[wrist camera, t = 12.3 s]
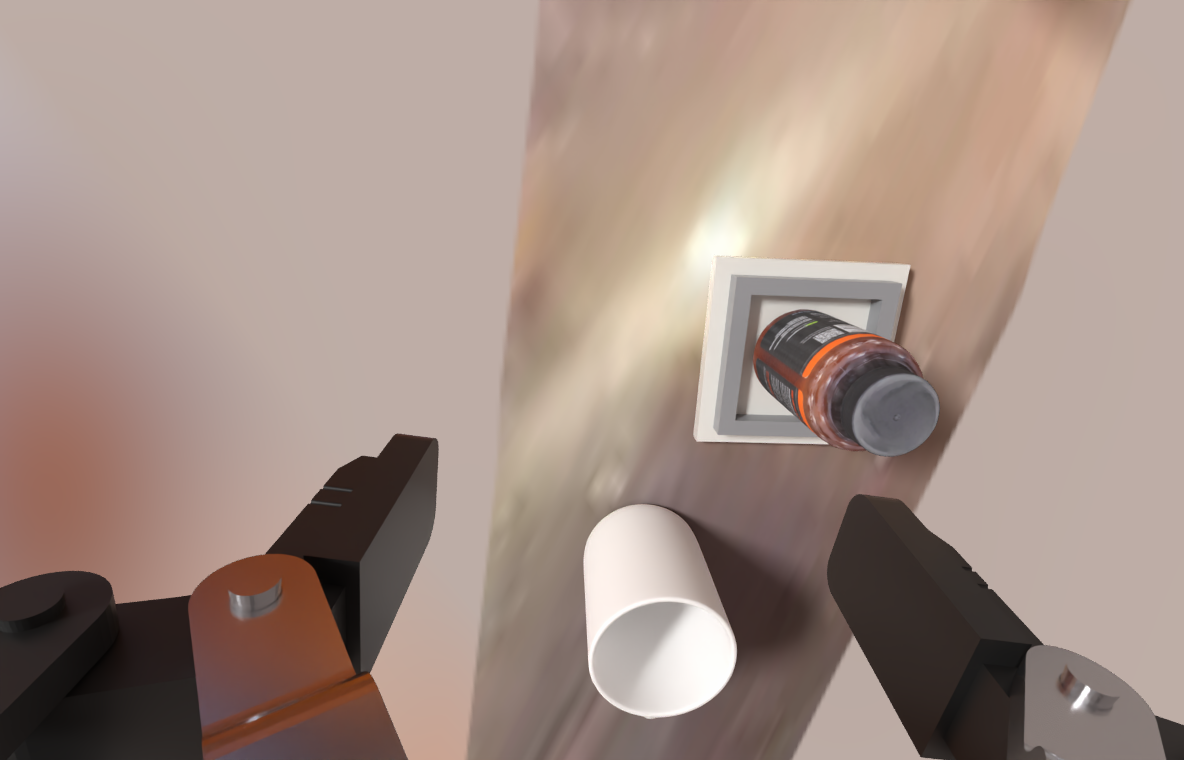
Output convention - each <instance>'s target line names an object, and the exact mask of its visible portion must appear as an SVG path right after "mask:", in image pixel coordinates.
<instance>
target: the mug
mask: <svg viewBox="0 0 1184 760" xmlns="http://www.w3.org/2000/svg"><path fill="white" fill-rule="evenodd" d="M584 582H585V602H586V622H587V641H588V661H589V671H590V675H591V678H592V680H593V683H594V684H595V686H596V688H597V690H598V691H599V692H600V693H601V695H602V696H603V697H604V698H605V699H606V700H607V701H609V702H610V703H611V704H613V705H614V706H616V707H618V708H619V709H621V710H623V711H626V712H628V713H631V714H635V715H639V716H644V717H645V718H648V719H654V718H656V717H669V716H675V715H679V714H683V713H687V712H689V711H692V710H694V709H696V708H698V707H700V706H702V705H704V704H705V703H707V702H708V701H710V700H711V699H712V698H714V697H715V696H716V695H717V694H718V693H719V692H720V691H721V690H722V689H723V688H724V686H725V685H726V684H727V682H728V681H729V679H730V677H731V675H732V673H733V670H734V668H735V664H736V658H737V646H736V640H735V637H734V634H733V631H732V629H731V626H730V623H729V621H728V618H727V616H726V613H725V611H724V608H723V605H722V603H721V600H720V598H719V595H718V592H717V590H716V587H715V585H714V582H713V580H712V577H711V574H710V572H709V569H708V567H707V564H706V562H705V559H704V556H703V554H702V551H701V549H700V546H699V544H698V541H697V539H696V537H695V535H694V533H693V531H692V530H691V528H690V527H689V526H688V524H687V523H686V522H685V521H684V520H683V519H682V518H681V517H680V516H679V515H677V514H675V513H674V512H672V511H670V510H668V509H666V508H663V507H660V506H656V505H649V504H637V505H631V506H627V507H623V508H620V509H618V510H616V511H614V512H612V513H610V514H609V515H607V516H606V517H605V518H603V519H602V520H601V521H600V522H599V523H598V524H597V525H596V527H595V528H594V529H593V531H592V532H591V534H590V536H589V538H588V540H587V543H586V547H585V552H584Z"/></svg>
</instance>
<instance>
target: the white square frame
mask: <svg viewBox="0 0 1184 760" xmlns="http://www.w3.org/2000/svg"><path fill="white" fill-rule="evenodd" d="M909 270H910V265H908V264H903V263H884V262H860V261H836V260H812V259H788V258H763V257H739V256H715V255H713V256H712V266H711V275H710V284H709V294H708V303H707V312H706V322H705V331H704V340H703V350H702V359H701V368H700V378H699V387H698V397H697V406H696V415H695V425H694V434H693V436H694V437H695V439H696V441H706V442H750V443H794V444H828V443H827V442H825V441H823V440H822V439H820V438H819V437H818V436H817V435H816V434H815V433H814V432H812V431H811V430H810V429H809V428H808V427H807V426H805V425H804V424H803V423H802V422H801V421H800V420H799V419H798V418H797V417H795V416H794V415H793V414H792V413H791V412H790V411H788V410H787V409H786V408H785V407H784V406H783V405H782V404H781V403H780V402H779V401H777V400H776V399H775V398H774V397H773V396H772V395H771V394H770V393H768V391H767V390H766V389H765V388H764V387H763V386H762V385H761V383H760V382H759V380H758V378H757V376H756V373H755V370H754V365H753V355H754V349H755V346H756V343H757V340H758V338H759V336H760V334H761V333H762V331H763V330H764V329H765V328H766V327H767V325H769V324H770V323H771V322H772V321H773V320H774V319H776V318H777V317H779V316H781V315H783V314H785V313H788V312H791V311H795V310H799V309H808V310H815V311H819V312H822V313H825V314H828V315H830V316H833V317H835V318H837V319H840V320H842V321H844V322H847V323H849V324H852V325H854V326H856V327H859V328H861V329H864V330H866V331H869V332H871V333H874V334H876V335H879V336H881V337H883V338H885V339H888V340H890V341H892V342H894V340H895V336H896V331H897V326H898V321H899V317H900V312H901V307H902V303H903V298H904V293H905V288H906V284H907V279H908V274H909Z"/></svg>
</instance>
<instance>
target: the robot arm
mask: <svg viewBox="0 0 1184 760" xmlns="http://www.w3.org/2000/svg"><path fill="white" fill-rule="evenodd" d="M437 470H438V441H437V439H436V438H428V437H420V436H413V435H405V434H395V435H394V436H393V437H392V439H391V440H390V442H389V443H388V444H387V445H386V447H385V448H384V449H383V451H382V452H381V453H380V455H379V456H378V457H377V458H375V457H368V456H361V457H359V458H357V459H355V460H353V461H351V462H350V463H348V464H346V465H344V466H342V467H340V468H339V469H338V470H337V471H336V472H335V473H334V474H333V475H332V476H331V478H330V479H329V480H328V481H327V482H326V484H325V485H324V488H323V489H320V491H319V492H318V493H317V494H316V495H315V496H314V498H313V499H312V500H311V504H308V505H307V506H306V507H305V508H304V509H303V510H302V512H301V513H300V514H299V515H298V516H297V517H296V519H295V520H294V521H293V522H292V523H291V525H290V526H289V527H288V528H287V529H286V530H285V531H284V533H283V534H282V535H281V536H280V537H279V539H278V540H277V541H276V542H275V543H274V544H273V545H272V547H271V548H270V549H269V550H268V551H267V552H266V554H265V555H257V556H252V557H247V558H244V559H241V560H237V561H235V562H232V563H230V564H228V565H225V566H224V567H222V568H220V569H218V570H216V571H215V572H213V573H212V574H210V575H209V576H208V577H206V578H205V579H204V580H203V581H202V582H201V583H200V584H199V585H198V586H197V587H196V588H195V590H194V591H193V593H192V595H189V596H182V597H175V598H166V599H158V600H148V601H139V602H130V603H122V604H115V600H114V595H113V590H112V587H111V585H110V583H109V582H108V581H107V580H106V579H105V578H104V577H102V576H100V575H97V574H94V573H90V572H84V571H64V572H55V573H48V574H43V575H38V576H34V577H30V578H27V579H24V580H20V581H17V582H14V583H12V584H9V585H7V586H4V587H1V588H0V760H408V758H407V756H406V754H405V751H404V749H403V746H402V744H401V742H400V739H399V737H398V734H397V732H396V730H395V727H394V725H393V723H392V720H391V718H390V715H389V713H388V711H387V708H386V706H385V704H384V701H383V699H382V696H381V694H380V692H379V689H378V687H377V685H376V683H375V681H374V679H373V677H372V676H371V675H370V672H371V670H372V667H373V665H374V663H375V660H376V658H377V656H378V654H379V652H380V649H381V647H382V645H383V643H384V640H385V638H386V636H387V634H388V631H389V629H390V627H391V625H392V623H393V620H394V618H395V616H396V614H397V611H398V609H399V607H400V605H401V603H402V600H403V598H404V596H405V594H406V592H407V589H408V587H409V585H410V582H411V580H412V578H413V576H414V574H415V571H416V569H417V567H418V564H419V563H420V560H421V558H422V556H423V554H424V551H425V549H426V547H427V545H428V542H429V540H430V536H431V533H432V529H433V524H434V519H435V511H436V491H437ZM827 579H828V585H829V589H830V592H831V594H832V596H833V598H834V599H835V601H836V603H837V605H838V607H839V609H840V610H841V612H842V614H843V616H844V618H845V619H846V621H847V623H848V625H849V627H850V629H851V630H852V632H853V634H854V636H855V638H856V640H857V641H858V643H859V645H860V647H861V649H862V650H863V652H864V654H865V656H866V658H867V660H868V662H869V663H870V665H871V667H872V669H873V671H874V673H875V674H876V676H877V678H878V679H879V682H880V683H881V685H882V687H883V689H884V691H885V693H886V694H887V696H888V698H889V700H890V702H891V703H892V705H893V707H894V709H895V711H896V713H897V714H898V716H899V718H900V720H901V722H902V724H903V726H904V727H905V729H906V731H907V733H908V735H909V736H910V738H911V740H912V742H913V744H914V745H915V747H916V749H917V751H918V753H919V755H920V757H924V758H933V759H943V760H1184V725H1181V724H1178V723H1176V722H1173V721H1170V720H1167V719H1164V718H1160V717H1158V716H1155V715H1154V713H1153V712H1152V710H1151V708H1150V707H1149V705H1148V704H1147V703H1146V702H1145V701H1144V699H1143V698H1141V696H1140V695H1139V694H1138V693H1137V692H1136V691H1135V690H1134V689H1132V688H1131V687H1130V686H1129V685H1128V684H1127V683H1126V682H1124V681H1123V680H1122V679H1120V678H1119V677H1117V676H1116V675H1115V674H1113V673H1112V672H1110V671H1109V670H1107V669H1106V668H1104V667H1102V666H1101V665H1099V664H1097V663H1096V662H1094V661H1092V660H1090V659H1087V658H1086V657H1083V656H1081V655H1079V654H1077V653H1074V652H1071V651H1069V650H1066V649H1062V648H1058V647H1054V646H1047V645H1043V643H1042V642H1041V641H1040V640H1039V639H1038V638H1037V637H1036V636H1035V635H1034V634H1033V633H1032V632H1031V631H1030V630H1029V628H1028V627H1027V626H1026V625H1025V624H1024V623H1023V622H1022V621H1021V620H1020V619H1019V618H1018V617H1017V616H1016V615H1015V613H1014V612H1013V611H1012V610H1011V609H1010V608H1009V607H1008V606H1007V605H1006V604H1005V603H1004V602H1003V601H1002V599H1001V598H1000V597H999V596H998V595H997V594H996V593H995V592H994V591H993V590H992V589H988V584H986V582H984V580H983V579H982V578H981V577H980V576H979V575H978V574H977V573H976V572H972V568H971V566H970V565H969V564H968V563H967V562H966V561H965V560H964V559H963V558H962V557H961V555H960V554H959V553H958V552H957V551H956V550H955V549H954V548H953V547H952V546H950V545H949V544H947V543H946V542H945V541H943V540H942V539H940V538H939V537H937V536H936V535H935V534H933V533H932V532H930V531H929V530H928V529H927V528H926V527H925V526H924V525H923V524H922V523H921V522H920V520H919V519H918V518H917V517H916V516H915V515H914V514H913V513H912V512H911V510H910V509H909V508H908V507H907V506H906V505H905V504H904V503H903V502H902V501H900V500H898V499H893V498H885V497H877V496H870V495H862V494H858V495H856V496H854V497H853V498H852V499H851V501H850V502H849V505H848V507H847V510H846V513H845V516H844V518H843V521H842V524H841V527H840V530H839V532H838V535H837V538H836V541H835V544H834V546H833V549H832V552H831V555H830V558H829V561H828V568H827Z"/></svg>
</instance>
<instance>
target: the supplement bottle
mask: <svg viewBox="0 0 1184 760" xmlns="http://www.w3.org/2000/svg"><path fill="white" fill-rule="evenodd" d="M753 365H754V370H755V373H756V376H757V378H758V380H759V382H760V383H761V385H762V386H763V387H764V388H765V389H766V390H767V391H768V393H770V394H771V395H772V396H773V397H774V398H775V399H776V400H777V401H779V402H780V403H781V404H782V405H783V406H784V407H785V408H786V409H787V410H788V411H790V412H791V413H792V414H793V415H794V416H795V417H797V418H798V419H799V420H800V421H801V422H802V423H803V424H804V425H805V426H807V427H808V428H809V429H810V430H811V431H812V432H814V433H815V434H816V435H817V436H818V437H819V438H820V439H822V440H823V441H825V442H827V443H828V444H830V445H832V446H834V447H837V448H840V449H844V450H850V451H866V450H867V451H869V452H871V453H873V454H876V455H879V456H888V457H893V456H898V455H902V454H905V453H908V452H910V451H912V450H914V449H915V448H917V447H918V446H920V445H921V444H922V443H923V442H924V441H925V440H926V439H927V438H928V437H929V436H930V434H931V433H932V432H933V430H934V428H935V426H936V424H937V421H938V417H939V412H940V403H939V399H938V395H937V393H936V392H935V390H934V389H933V387H932V386H931V385H930V384H929V383H928V382H927V381H926V380H924V379H923V375H922V372H921V370H920V368H919V365H918V364H917V362H916V360H915V359H914V357H913V356H912V355H911V354H910V353H909V352H908V351H907V350H906V349H904V348H903V347H901V346H900V345H898V344H896V343H895V342H892V341H890V340H888V339H885V338H883V337H881V336H879V335H876V334H874V333H871V332H869V331H866V330H864V329H861V328H859V327H856V326H854V325H852V324H849V323H847V322H844V321H842V320H840V319H837V318H835V317H833V316H830V315H828V314H825V313H822V312H819V311H815V310H808V309H799V310H795V311H791V312H788V313H785V314H783V315H781V316H779V317H777V318H776V319H774V320H773V321H772V322H771V323H770V324H769V325H767V327H766V328H765V329H764V330H763V331H762V333H761V334H760V336H759V338H758V340H757V343H756V346H755V349H754V355H753Z"/></svg>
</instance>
